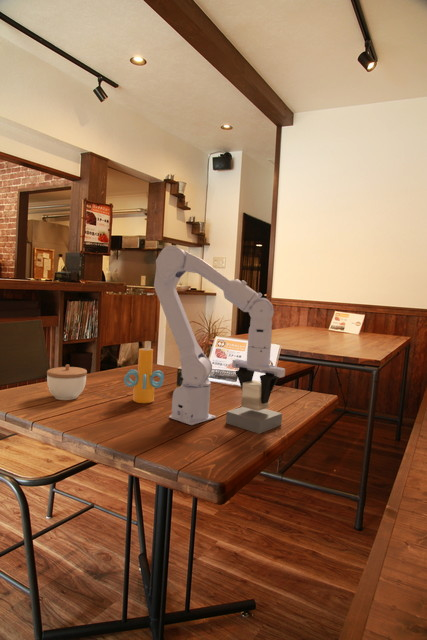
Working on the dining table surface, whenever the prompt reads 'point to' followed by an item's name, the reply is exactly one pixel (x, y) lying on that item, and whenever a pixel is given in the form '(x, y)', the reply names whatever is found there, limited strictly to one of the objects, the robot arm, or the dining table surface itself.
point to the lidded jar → (66, 382)
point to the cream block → (252, 396)
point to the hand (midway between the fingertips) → (255, 400)
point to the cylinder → (144, 378)
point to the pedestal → (254, 419)
